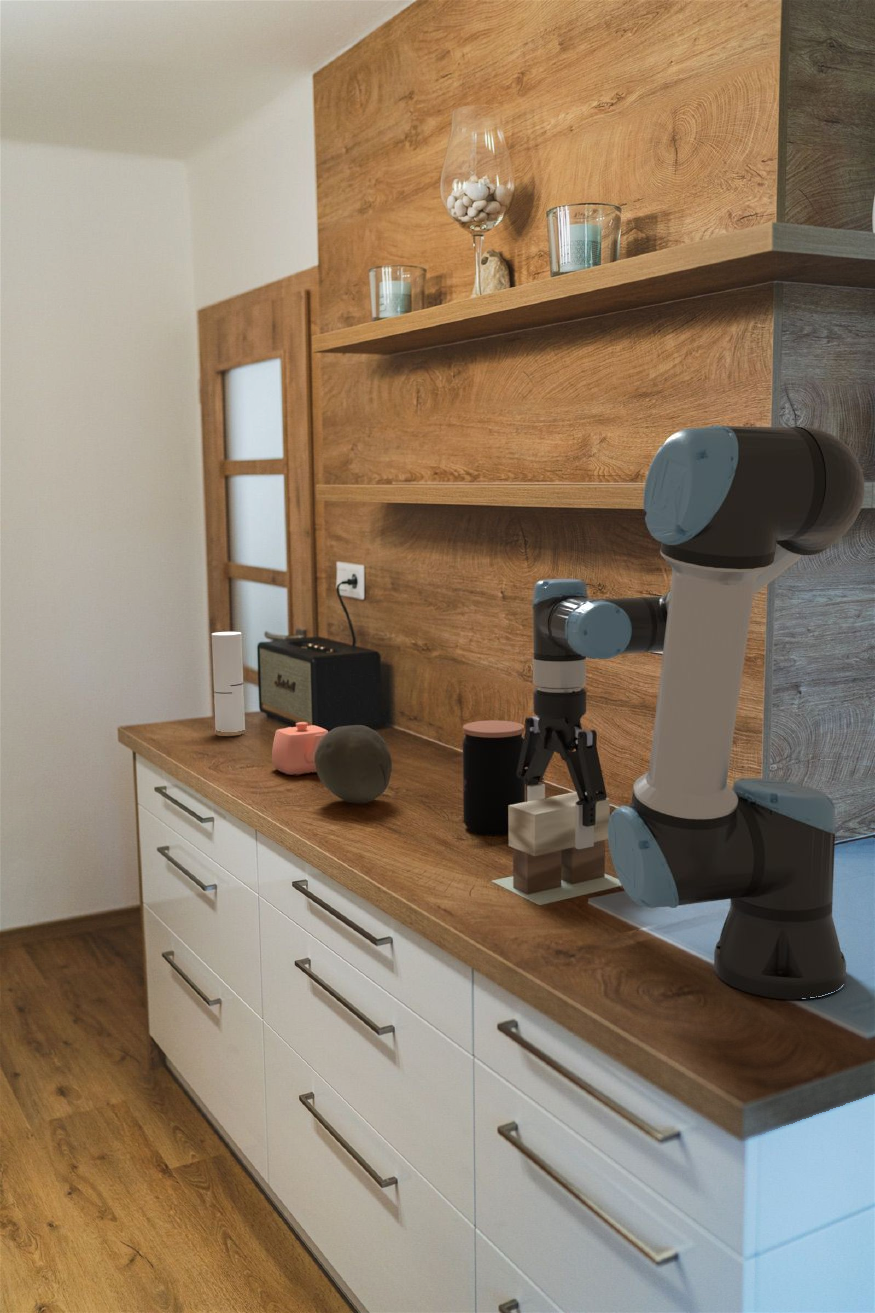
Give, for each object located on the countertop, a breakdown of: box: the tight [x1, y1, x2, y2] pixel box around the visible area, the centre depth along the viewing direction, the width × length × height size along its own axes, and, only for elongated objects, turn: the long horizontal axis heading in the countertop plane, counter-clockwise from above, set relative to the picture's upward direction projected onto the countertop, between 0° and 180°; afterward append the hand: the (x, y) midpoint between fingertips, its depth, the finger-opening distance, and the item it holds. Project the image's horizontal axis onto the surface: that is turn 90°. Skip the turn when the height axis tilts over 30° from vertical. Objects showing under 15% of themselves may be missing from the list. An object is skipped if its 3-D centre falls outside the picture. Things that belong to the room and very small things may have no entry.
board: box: [491, 873, 622, 906], centre depth 168 cm, size 12×16×1 cm
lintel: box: [508, 791, 611, 856], centre depth 166 cm, size 6×14×6 cm, turn 124°
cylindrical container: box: [211, 631, 246, 732], centre depth 281 cm, size 7×7×25 cm
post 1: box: [512, 847, 561, 895], centre depth 165 cm, size 4×6×6 cm, turn 121°
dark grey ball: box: [315, 724, 393, 805], centre depth 216 cm, size 14×14×15 cm
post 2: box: [561, 840, 606, 884], centre depth 169 cm, size 4×6×6 cm, turn 121°
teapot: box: [271, 721, 329, 776], centre depth 243 cm, size 12×18×10 cm, turn 30°
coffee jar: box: [462, 719, 526, 836], centre depth 199 cm, size 11×11×18 cm
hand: (559, 837), depth 167 cm, fingers open, 11 cm apart
